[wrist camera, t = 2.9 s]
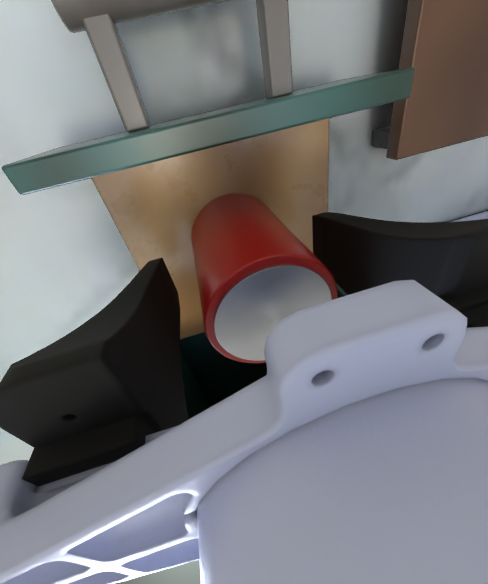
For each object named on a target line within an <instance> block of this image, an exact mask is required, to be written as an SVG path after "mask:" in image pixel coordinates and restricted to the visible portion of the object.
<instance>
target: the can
mask: <svg viewBox="0 0 488 584" xmlns="http://www.w3.org/2000/svg"><path fill="white" fill-rule="evenodd" d="M192 247H193V253H194V260H195V267H196V274H197V281H198V288H199V295H200V302H201V309H202V315H203V322H204V329H205V333H206V336H207V338H208V340H209V342H210V343H211V344H212V346H213V347H214V348H215V349H216V350H217V351H218V352H219V353H221V354H222V355H224V356H225V357H228V358H230V359H232V360H235V361H239V362H244V363H266V360H265V355H264V348H265V342H266V336H267V335H268V334H269V333H270V332H271V331H272V329H273V328H274V327H275V326H276V325H277V324H278V322H279V321H280V320H281V319H283V318H285V317H287V316H289V315H291V314H293V313H295V312H297V311H299V310H301V309H304V308H307V307H311V306H314V305H317V304H321V303H324V302H327V301H330V300H334V299H337V298H338V290H337V285H336V282H335V279H334V277H333V275H332V274H331V272H330V271H329V270H328V269H327V267H326V266H325V265H324V264H323V263H322V262H321V261H320V260H319V259H318V258H317V257H316V256H315V255H314V254H313V253H312V252H311V251H310V250H309V249H308V248H307V247H306V246H305V245H304V244H303V243H302V242H301V241H300V240H299V239H298V238H297V237H296V236H295V235H294V234H293V233H292V232H291V231H290V230H289V229H288V228H287V227H286V226H285V225H284V224H283V223H282V221H281V220H280V219H279V218H278V217H277V216H276V215H275V214H274V213H273V212H272V211H271V210H270V209H269V208H268V207H267V206H266V205H265V204H264V203H263V202H261V201H260V200H259V199H257V198H255V197H253V196H250V195H246V194H240V193H233V194H227V195H223V196H220V197H218V198H216V199H214V200H212V201H211V202H209V203H208V204H207V205H206V206H205V207H204V208H203V209H202V210H201V211H200V213H199V214H198V216H197V217H196V220H195V222H194V225H193V228H192Z"/></svg>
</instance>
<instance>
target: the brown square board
mask: <svg viewBox="0 0 488 584" xmlns="http://www.w3.org/2000/svg"><path fill="white" fill-rule="evenodd" d="M409 67H413V68H415V72H414V78H413V84H412V89H411V95H410V97H409V98H407V99H404V100H400V101H396V102H394V105H393V112H392V119H391V126H390V127H383V128H379V129H376V130H373V135H372V144H371V146H372V147H378V148H383V149H387V155H386V157H387V158H390V159H395V160H398V159H402V158H405V157H409V156H413V155H417V154H420V153H424V152H428V151H432V150H435V149H439V148H443V147H447V146H450V145H454V144H458V143H461V142H465V141H469V140H473V139H476V138H480V137H484V136H488V0H408V6H407V13H406V20H405V27H404V34H403V41H402V48H401V55H400V62H399V69H404V68H409Z"/></svg>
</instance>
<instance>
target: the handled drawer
mask: <svg viewBox="0 0 488 584" xmlns="http://www.w3.org/2000/svg"><path fill="white" fill-rule="evenodd" d="M51 1H52V3H53V5H54V7H55V9H56V11H57V13H58V15H59V16H60V18H61V20H62V21H63V23H64V24H65V26H66V27H67V29H68V30H69V31H70V32H72V33H76V32H81V31H85V30H86V32H87V34H88V37H89V39H90V42H91V44H92V47H93V49H94V52H95V54H96V57H97V59H98V62H99V64H100V67H101V69H102V72H103V74H104V77H105V79H106V82H107V84H108V87H109V89H110V92H111V94H112V97H113V99H114V102H115V104H116V107H117V109H118V112H119V114H120V117H121V119H122V122H123V124H124V127H125V129H126V132H122V133H118V134H114V135H110V136H105V137H101V138H97V139H93V140H89V141H85V142H80V143H76V144H72V145H68V146H64V147H60V148H56V149H53V150H50V151H47V152H44V153H41V154H38V155H35V156H32V157H29V158H25V159H22V160H19V161H16V162H13V163H10V164H7V165H4V166H3V167H2V170H3V171H4V173H5V174H6V176H7V177H8V179H9V180H10V181H11V183H12V184H13V186H14V187H15V188H16V190H17V191H18V193H20V194H22V195H25V194H29V193H33V192H37V191H41V190H45V189H49V188H53V187H57V186H61V185H65V184H69V183H73V182H77V181H81V180H85V179H89V178H92V180H93V182H94V184H95V186H96V188H97V190H98V192H99V193H100V195H101V197H102V199H103V201H104V203H105V205H106V207H107V209H108V211H109V213H110V215H111V216H112V218H113V220H114V222H115V224H116V226H117V228H118V230H119V232H120V234H121V236H122V237H123V239H124V241H125V243H126V245H127V247H128V249H129V251H130V253H131V255H132V257H133V258H134V260H135V262H136V264H137V266H138V268H139V270H141V269H142V268H143V267H144V266H145V265H146V263H147V262H149V261H151V260H155V259H158V258H162V257H163V260H164V262H165V264H166V267H167V269H168V271H169V273H170V276H171V278H172V280H173V282H174V285H175V287H176V289H177V291H178V296H179V303H180V339H183V338H186V337H190V336H193V335H196V334H199V333H203V332H205V329H204V322H203V315H202V309H201V302H200V295H199V288H198V281H197V274H196V267H195V260H194V253H193V247H192V228H193V225H194V222H195V220H196V217H197V216H198V214H199V213H200V211H201V210H202V209H203V208H204V207H205V206H206V205H207V204H208V203H209V202H211V201H212V200H214V199H216V198H218V197H220V196H223V195H227V194H233V193H240V194H246V195H250V196H253V197H255V198H257V199H259V200H260V201H261V202H263V203H264V204H265V205H266V206H267V207H268V208H269V209H270V210H271V211H272V212H273V213H274V214H275V215H276V216H277V217H278V218H279V219H280V220H281V221H282V223H283V224H284V225H285V226H286V227H287V228H288V229H289V230H290V231H291V232H292V233H293V234H294V235H295V236H296V237H297V238H298V239H299V240H300V241H301V242H302V243H303V244H304V245H305V246H306V247H307V248H308V249H309V250H310V251H311V252H312V253H313V232H312V216H313V215H317V214H320V213H324V212H328V161H329V118H332V117H336V116H340V115H344V114H348V113H352V112H356V111H360V110H364V109H368V108H372V107H376V106H380V105H384V104H388V103H392V102H396V101H400V100H404V99H407V98H409V97H410V95H411V89H412V84H413V78H414V72H415V68H413V67H409V68H404V69H398V70H393V71H387V72H382V73H376V74H371V75H365V76H360V77H354V78H349V79H343V80H338V81H334V82H330V83H326V84H322V85H318V86H313V87H309V88H305V89H301V90H297V91H293V84H292V66H291V48H290V29H289V11H288V0H256V7H257V17H258V26H259V36H260V45H261V54H262V64H263V73H264V83H265V92H266V98H263V99H259V100H255V101H251V102H247V103H243V104H239V105H234V106H230V107H226V108H222V109H218V110H214V111H209V112H205V113H201V114H197V115H193V116H189V117H184V118H180V119H176V120H172V121H168V122H164V123H159V124H155V125H151V126H150V122H149V119H148V116H147V113H146V110H145V107H144V104H143V101H142V99H141V96H140V93H139V90H138V87H137V84H136V81H135V78H134V75H133V73H132V70H131V67H130V64H129V61H128V58H127V55H126V52H125V49H124V47H123V44H122V41H121V38H120V35H119V32H118V29H117V26H116V24H119V23H123V22H128V21H133V20H138V19H142V18H147V17H152V16H157V15H161V14H166V13H171V12H176V11H180V10H185V9H190V8H195V7H199V6H204V5H209V4H214V3H218V2H223V1H228V0H51Z"/></svg>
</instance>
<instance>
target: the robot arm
mask: <svg viewBox="0 0 488 584" xmlns="http://www.w3.org/2000/svg"><path fill="white" fill-rule="evenodd" d="M312 232H313V254H314V255H315V256H316V257H317V258H318V259H319V260H320V261H321V262H322V263H323V264H324V265H325V266H326V267H327V269H328V270H329V271H330V272H331V274H332V275H333V277H334V279H335V282H336V283H337V284H338V285H339V286H340V288H341V289H342V290H343V291H344V292H345V293H346V294H347V296H344V297H340V298H337V299H334V300H330V301H327V302H324V303H321V304H317V305H314V306H311V307H307V308H304V309H301V310H299V311H297V312H295V313H293V314H291V315H289V316H287V317H285V318H283V319H281V320H280V321H279V322H278V324H277V325H276V326H275V327H274V328H273V329H272V331H271V332H270V333H269V334H268V335H267V336H266V342H265V348H264V355H265V360H266V365H267V374H266V376H264V377H262V378H261V379H259V380H257V381H255V382H254V383H252V384H250V385H248V386H247V387H245V388H243V389H241V390H240V391H238V392H236V393H234V394H233V395H231V396H229V397H227V398H226V399H224V400H222V401H220V402H218V403H217V404H215V405H213V406H211V407H210V408H208V409H206V410H204V411H203V412H201V413H199V414H197V415H196V416H194V417H192V418H190V419H189V420H188V413H187V406H186V399H185V392H184V384H183V377H182V368H181V358H180V303H179V296H178V291H177V289H176V287H175V285H174V282H173V280H172V278H171V276H170V273H169V271H168V269H167V267H166V264H165V262H164V260H163V257H162V258H158V259H155V260H151V261H149V262H147V263H146V265H145V266H144V267H143V268H142V269H141V270H140V271H139V273H138V274H137V275H136V276H135V277H134V279H133V280H132V281H131V282H130V283H129V284H128V285H127V286H126V287H125V289H124V290H123V291H122V292H121V293H120V294H119V295H118V296H117V297H116V298H115V299H114V300H113V301H112V302H111V303H109V304H108V305H107V306H106V307H105V308H104V309H102V310H101V311H100V312H99V313H98V314H96V315H95V316H94V317H92V318H91V319H89V320H88V321H87V322H85V323H84V324H83V325H81V326H80V327H78V328H77V329H75V330H74V331H72V332H71V333H69V334H67V335H66V336H64V337H63V338H61V339H59V340H58V341H56V342H54V343H52V344H51V345H49V346H47V347H45V348H43V349H41V350H39V351H37V352H36V353H34V354H32V355H30V356H28V357H26V358H24V359H22V360H20V361H18V362H16V363H14V364H12V365H11V366H10V368H9V369H8V371H7V373H6V374H5V376H4V377H3V379H2V381H1V382H0V427H1V428H2V429H4V430H5V431H7V432H9V433H10V434H12V435H14V436H16V437H17V438H19V439H21V440H22V441H24V442H26V443H27V444H29V445H31V446H32V447H35V448H34V450H33V453H32V455H31V457H30V460H29V461H27V460H17V461H12V462H9V463H6V464H3V465H0V584H115V583H118V582H122V581H126V580H129V579H133V578H136V577H140V576H143V575H147V574H150V573H154V572H157V571H161V570H164V569H168V568H171V567H175V566H179V565H182V564H186V563H189V562H192V561H196V560H200V576H201V584H488V211H486V212H482V213H479V214H475V215H472V216H469V217H465V218H462V219H458V220H455V221H451V222H436V223H412V222H394V221H384V220H376V219H369V218H363V217H357V216H351V215H345V214H339V213H331V212H324V213H320V214H317V215H313V216H312Z"/></svg>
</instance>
